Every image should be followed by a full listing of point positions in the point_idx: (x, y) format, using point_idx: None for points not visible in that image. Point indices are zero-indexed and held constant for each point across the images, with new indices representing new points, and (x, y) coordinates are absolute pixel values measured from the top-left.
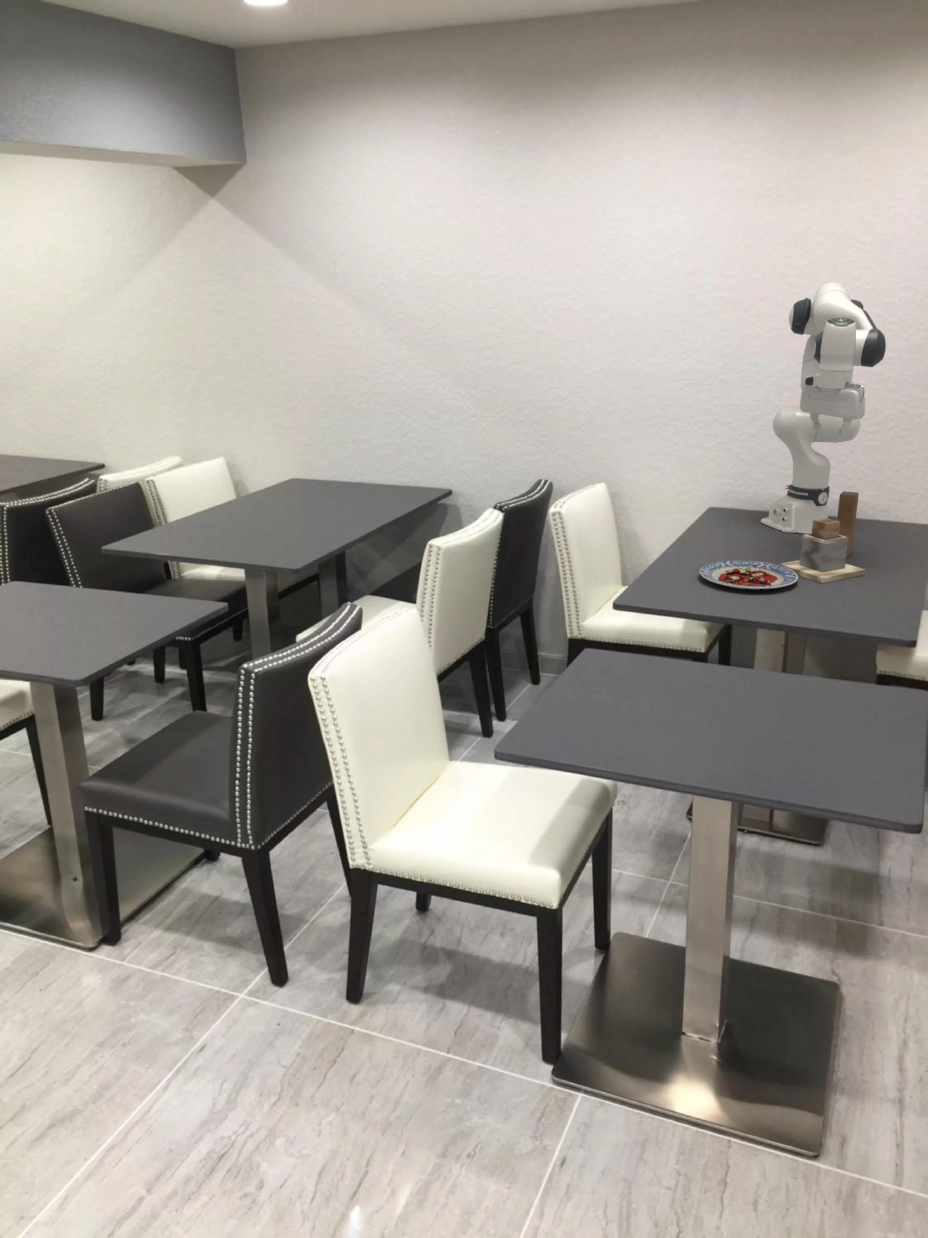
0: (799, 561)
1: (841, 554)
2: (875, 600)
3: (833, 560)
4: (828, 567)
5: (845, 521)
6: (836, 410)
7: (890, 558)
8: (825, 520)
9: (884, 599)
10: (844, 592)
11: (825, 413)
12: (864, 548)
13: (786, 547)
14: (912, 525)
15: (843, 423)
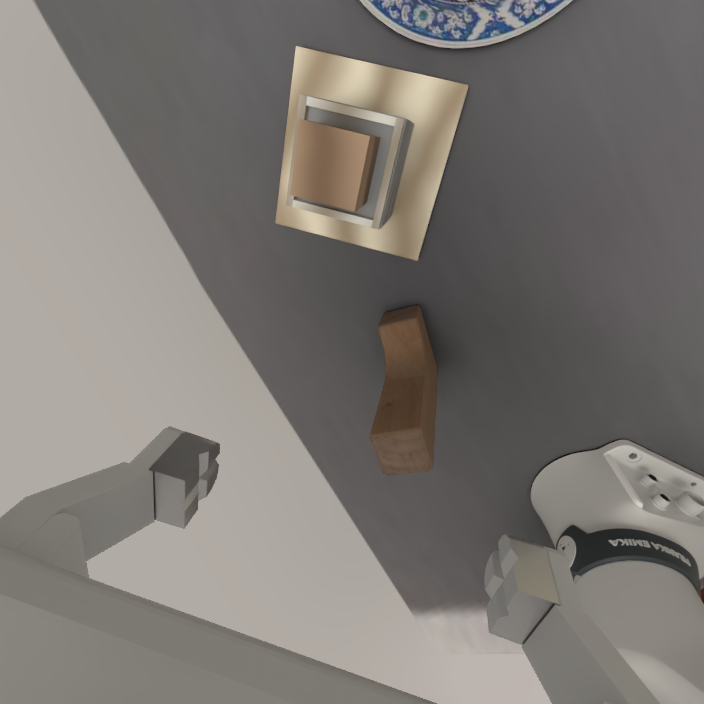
0: (434, 161)
1: None
2: (134, 22)
3: None
4: None
5: (400, 384)
6: (25, 699)
7: (320, 381)
8: (334, 170)
9: (131, 52)
10: (216, 20)
11: (329, 692)
12: None
13: (555, 316)
14: (415, 600)
15: (80, 498)
